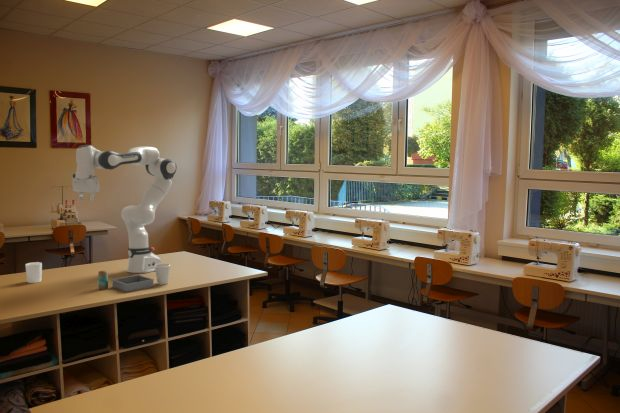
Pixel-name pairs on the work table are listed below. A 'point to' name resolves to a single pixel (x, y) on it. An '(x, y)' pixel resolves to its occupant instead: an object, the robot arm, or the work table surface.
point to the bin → (132, 283)
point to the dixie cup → (162, 273)
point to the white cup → (34, 272)
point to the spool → (103, 280)
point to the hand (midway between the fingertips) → (86, 200)
